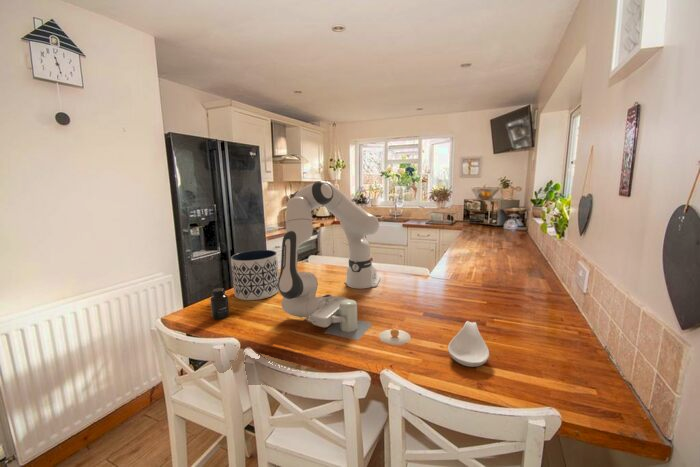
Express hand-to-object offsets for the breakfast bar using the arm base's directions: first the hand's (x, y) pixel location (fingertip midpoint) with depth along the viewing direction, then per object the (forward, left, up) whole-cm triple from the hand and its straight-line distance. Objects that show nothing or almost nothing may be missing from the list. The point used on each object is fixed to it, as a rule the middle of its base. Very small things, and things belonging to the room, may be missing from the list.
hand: (350, 314), depth 114 cm
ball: (0, +17, -6) cm, 18 cm away
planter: (-18, -62, -6) cm, 65 cm away
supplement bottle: (+10, -57, -6) cm, 58 cm away
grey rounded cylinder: (0, -1, -6) cm, 6 cm away
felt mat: (0, -1, -6) cm, 6 cm away
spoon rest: (-1, +42, -7) cm, 42 cm away
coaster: (0, +17, -6) cm, 18 cm away
